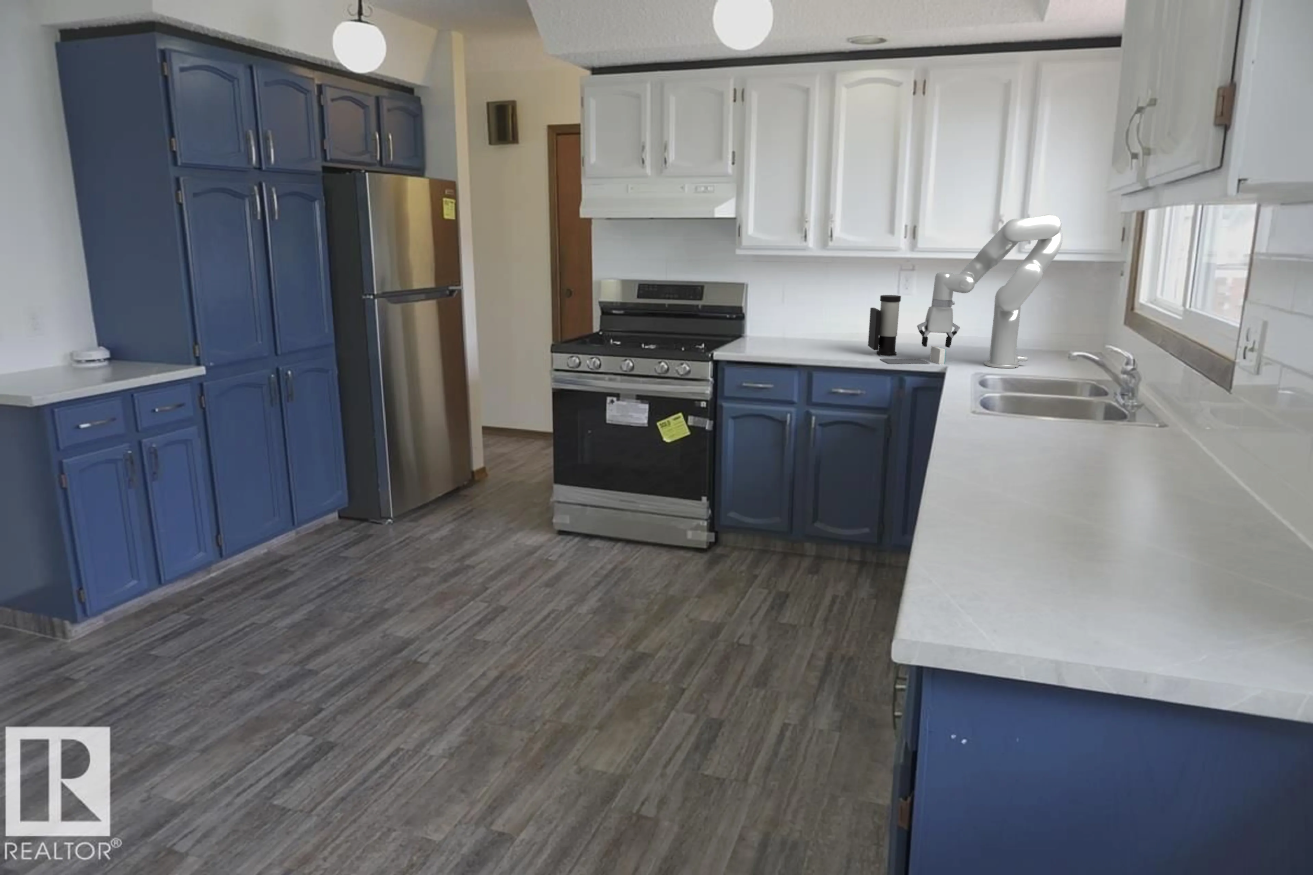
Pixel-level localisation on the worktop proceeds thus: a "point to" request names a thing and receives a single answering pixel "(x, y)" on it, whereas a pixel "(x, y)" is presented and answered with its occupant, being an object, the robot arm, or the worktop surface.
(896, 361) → the mat
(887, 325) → the light fixture
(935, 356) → the deck
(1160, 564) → the worktop surface
